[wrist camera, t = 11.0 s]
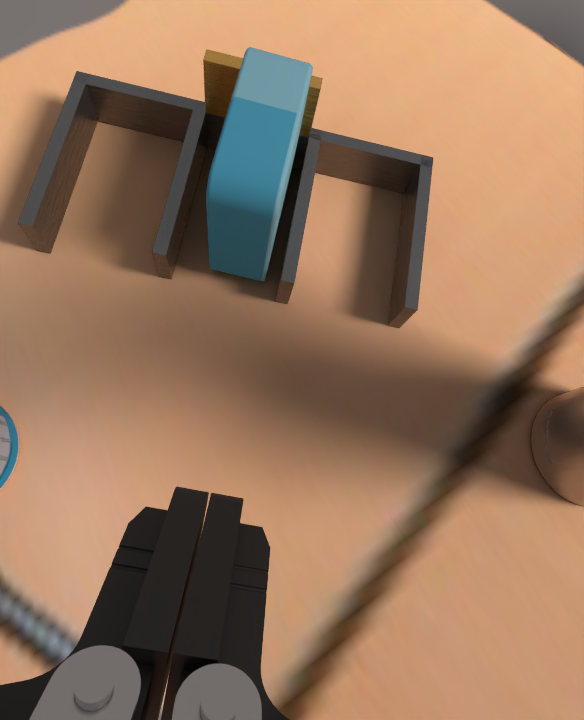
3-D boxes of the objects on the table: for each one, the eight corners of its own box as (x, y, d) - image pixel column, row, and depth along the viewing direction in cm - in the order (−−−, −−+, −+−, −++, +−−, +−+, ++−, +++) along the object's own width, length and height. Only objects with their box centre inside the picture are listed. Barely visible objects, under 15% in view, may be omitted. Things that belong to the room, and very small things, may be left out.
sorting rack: (415, 186, 46) (460, 112, 37) (399, 327, 42) (445, 281, 33) (89, 109, 44) (57, 11, 35) (37, 250, 39) (-14, 179, 31)
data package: (242, 155, 44) (249, 34, 33) (292, 168, 45) (316, 52, 33) (209, 275, 41) (204, 185, 29) (263, 289, 41) (279, 204, 30)
